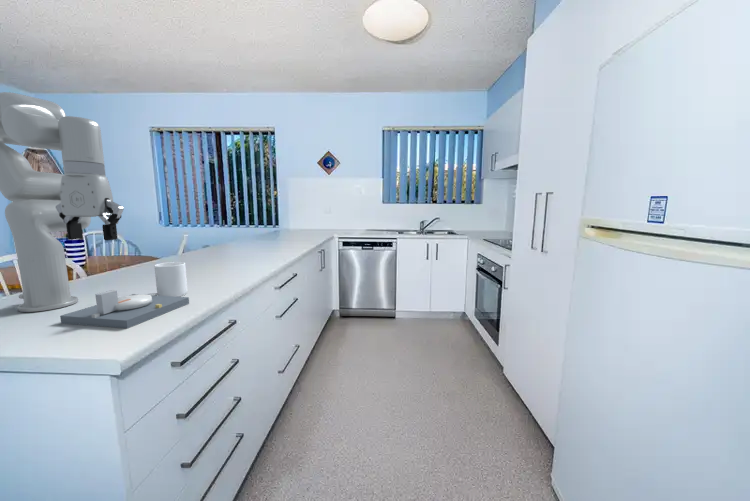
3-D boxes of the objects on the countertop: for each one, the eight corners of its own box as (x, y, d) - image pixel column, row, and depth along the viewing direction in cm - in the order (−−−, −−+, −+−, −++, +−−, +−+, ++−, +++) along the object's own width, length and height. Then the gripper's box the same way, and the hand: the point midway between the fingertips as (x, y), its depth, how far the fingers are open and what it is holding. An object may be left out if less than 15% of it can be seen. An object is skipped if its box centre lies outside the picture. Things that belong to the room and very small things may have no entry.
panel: (61, 323, 79) (59, 312, 79) (133, 300, 98) (132, 291, 98) (127, 328, 76) (126, 317, 75) (189, 303, 95) (188, 294, 95)
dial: (131, 298, 92) (129, 281, 92) (160, 300, 91) (159, 283, 90) (84, 313, 80) (82, 293, 79) (117, 315, 78) (114, 295, 77)
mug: (176, 289, 112) (173, 260, 111) (192, 294, 105) (190, 263, 104) (148, 294, 105) (145, 263, 104) (164, 300, 98) (161, 267, 97)
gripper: (35, 168, 73) (45, 240, 76) (103, 169, 72) (111, 242, 74) (69, 172, 81) (77, 237, 83) (130, 172, 79) (137, 238, 82)
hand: (93, 239), depth 79 cm, fingers open, 9 cm apart
